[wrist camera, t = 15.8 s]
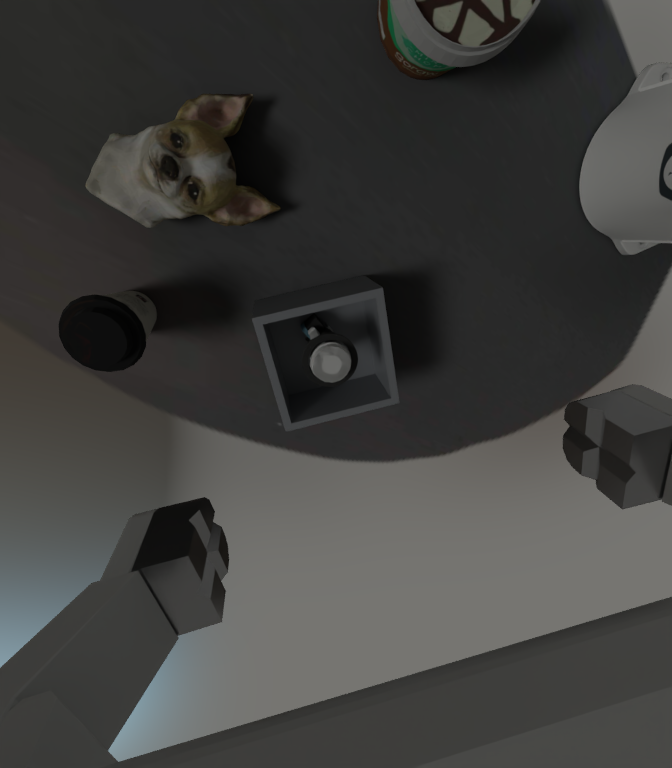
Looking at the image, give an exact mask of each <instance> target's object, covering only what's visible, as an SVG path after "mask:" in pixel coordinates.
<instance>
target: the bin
mask: <svg viewBox="0 0 672 768" xmlns="http://www.w3.org/2000/svg"><path fill="white" fill-rule="evenodd" d="M313 313H315V314H316V315H317V316H318V318H319V319H320V320H321V322H322V324H323V325H324V326H325V327H326V328H327V324H328V325H329V326H330V327H331V329H332V330H333V332H334V333H337V334H340V335H343V336H345V337H346V338H348V339H349V340H350V341H351V342H352V343H353V345H354V346H355V348H356V351H357V354H358V364H357V368H356V370H355V372H354V374H353V375H352V376H351V377H350V378H349V379H348V380H347V381H346V382H344V383H342V384H340V385H338V386H334V387H324V386H320V385H317V384H315V383H313V382H312V381H311V380H310V379H309V378H308V377H307V376H306V374H305V372H304V370H303V366H302V355H303V351H304V349H305V347H306V346H307V344H308V342H307V341H306V340H305V338H306V337H307V336H306V334H305V333H304V332H303V331H302V329H301V326H300V325H301V324H302V323H303V322H304V321H306V320H307V319H308V318H309V317H310V316H311V315H312V314H313ZM252 321H253V324H254V327H255V331H256V334H257V337H258V341H259V344H260V347H261V351H262V354H263V357H264V361H265V364H266V367H267V371H268V374H269V377H270V381H271V384H272V387H273V391H274V394H275V397H276V401H277V404H278V407H279V411H280V414H281V417H282V421H283V424H284V427H285V431H286V432H287V431H291V430H295V429H299V428H303V427H306V426H310V425H314V424H318V423H322V422H326V421H330V420H334V419H338V418H342V417H346V416H350V415H354V414H358V413H362V412H365V411H369V410H373V409H377V408H381V407H385V406H389V405H393V404H397V403H399V396H398V390H397V383H396V376H395V369H394V362H393V355H392V348H391V341H390V334H389V327H388V320H387V313H386V306H385V299H384V292H383V287H381V286H380V285H378V284H377V283H375V282H374V281H372V280H371V279H369V278H368V277H366V276H365V275H363V276H359V277H354V278H350V279H346V280H342V281H337V282H333V283H329V284H324V285H320V286H316V287H311V288H307V289H303V290H299V291H294V292H290V293H286V294H281V295H277V296H273V297H268V298H264V299H260V300H256V301H255V303H254V309H253V315H252ZM326 323H327V324H326ZM341 343H342V342H341ZM342 345H343V346H344V347H346V349H347V350H348V347H347V346H346V345H345V344H343V343H342ZM348 351H349V350H348ZM308 364H309V366H310V355H309V359H308Z"/></svg>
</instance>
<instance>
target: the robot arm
mask: <svg viewBox="0 0 672 768" xmlns="http://www.w3.org/2000/svg"><path fill="white" fill-rule="evenodd" d="M661 77H662V78H663V79H662V81H661ZM579 190H580V200H581V205H582V208H583V211H584V213H585V216H586V217H587V219H588V221H589V222H590V223H591V225H592V226H593V227H594V228H596V229H597V230H598V231H600V232H601V233H603V234H605V235H607V236H608V237H610V238H611V239H612V240H613V242H614V244H615V246H616V248H617V249H618V251H619V252H620V253H621V254H623V255H634V254H637V253H639V252H641V251H643V250H645V249H648V248H650V247H652V246H654V245H657V244H659V243H672V63H655V64H651V65H649V66H647V67H645V68H644V69H643V70H642V71H641V73H640V74H639V76H638V77H637V79H636V81H635V82H634V84H633V86H632V88H631V90H630V92H629V94H628V95H627V97H626V98H625V99H624V100H623V102H622V103H621V104H620V105H619V106H618V107H617V108H616V109H615V110H614V111H613V112H612V113H611V114H610V115H609V116H608V117H607V118H606V119H605V120H604V122H603V123H602V124H601V126H600V127H599V129H598V130H597V132H596V133H595V135H594V137H593V139H592V141H591V142H590V145H589V147H588V149H587V152H586V154H585V157H584V160H583V164H582V168H581V174H580V185H579ZM564 420H565V421H566V422H567V423H568V424H569V425H570V427H569V428H568V429H567V431H566V432H565V434H564V435H563V450H564V453H565V455H566V458H567V460H568V462H569V463H570V465H571V466H572V467H573V468H574V469H575V470H576V471H577V472H578V473H579V474H581V475H582V476H585V477H589V478H592V479H595V480H596V485H597V489H598V490H600V491H601V492H602V493H603V494H604V495H606V496H607V497H608V498H609V499H610V500H612V501H613V502H614V503H615V504H617V505H618V506H619V507H620V508H621V509H625V508H629V507H633V506H637V505H641V504H645V503H649V502H653V501H657V500H661V499H662V502H664V503H667V504H669V505H672V399H671V398H668V397H666V396H664V395H662V394H660V393H657V392H655V391H653V390H651V389H649V388H646V387H644V386H642V385H633V384H632V385H629V386H625V387H622V388H619V389H615V390H612V391H610V392H607V393H603V394H600V395H596V396H592V397H588V398H585V399H582V400H577V401H574V402H570V403H568V405H567V407H566V409H565V415H564ZM214 513H215V511H214V509H213V507H212V505H211V503H210V500H209V499H207V498H205V497H204V498H200V499H195V500H191V501H188V502H183V503H179V504H174V505H171V506H166V507H162V508H159V509H154V510H151V511H146V512H143V513H139V514H135V515H133V516H132V517H131V518H129V520H128V522H127V524H126V526H125V528H124V531H123V533H122V535H121V537H120V539H119V541H118V544H117V546H116V548H115V550H114V552H113V554H112V556H111V558H110V561H109V563H108V565H107V567H106V569H105V571H104V573H103V576H102V578H101V580H100V581H97V582H94V583H91V584H90V585H89V586H88V587H87V588H86V589H85V590H84V591H83V592H82V593H80V595H78V596H77V597H76V598H75V599H74V600H73V601H72V602H71V603H70V604H69V605H68V606H66V607H65V608H64V609H63V610H62V611H61V612H60V613H59V614H58V615H57V616H56V617H55V618H54V619H52V620H51V621H50V622H49V623H48V624H47V625H46V626H45V627H44V628H43V629H42V630H41V631H40V632H38V633H37V635H35V636H34V637H33V638H32V639H31V640H30V641H29V642H28V643H27V644H25V645H24V646H23V647H22V648H21V649H20V650H19V651H18V652H17V653H16V654H15V655H14V656H13V657H11V658H10V659H9V660H8V661H7V662H6V663H5V664H4V665H3V666H2V667H1V668H0V768H672V597H670V598H666V599H663V600H659V601H656V602H653V603H649V604H646V605H643V606H639V607H636V608H633V609H629V610H626V611H623V612H619V613H616V614H613V615H609V616H606V617H602V618H599V619H596V620H593V621H589V622H586V623H583V624H579V625H576V626H572V627H569V628H566V629H562V630H559V631H556V632H553V633H549V634H546V635H543V636H539V637H536V638H532V639H529V640H526V641H522V642H519V643H516V644H512V645H509V646H506V647H503V648H499V649H496V650H492V651H489V652H486V653H482V654H479V655H476V656H472V657H469V658H466V659H462V660H459V661H456V662H452V663H449V664H446V665H442V666H439V667H436V668H432V669H429V670H425V671H422V672H418V673H415V674H412V675H409V676H405V677H402V678H398V679H395V680H392V681H388V682H385V683H382V684H379V685H375V686H372V687H368V688H365V689H362V690H358V691H355V692H351V693H348V694H345V695H341V696H338V697H335V698H331V699H328V700H325V701H321V702H318V703H314V704H311V705H308V706H304V707H301V708H298V709H294V710H291V711H287V712H284V713H281V714H278V715H274V716H271V717H267V718H264V719H261V720H258V721H254V722H251V723H247V724H244V725H241V726H237V727H234V728H231V729H227V730H224V731H221V732H217V733H214V734H210V735H207V736H204V737H201V738H197V739H194V740H191V741H187V742H184V743H180V744H177V745H174V746H171V747H167V748H164V749H161V750H157V751H154V752H150V753H147V754H144V755H141V756H137V757H134V758H130V759H127V760H124V761H121V762H118V761H117V760H116V759H115V758H114V757H113V756H112V755H111V754H110V753H109V752H108V749H109V748H110V746H111V745H112V743H113V742H114V740H115V738H116V737H117V735H118V734H119V732H120V730H121V729H122V727H123V725H124V724H125V722H126V721H127V719H128V718H129V716H130V715H131V713H132V711H133V710H134V708H135V707H136V705H137V703H138V702H139V700H140V699H141V697H142V695H143V694H144V692H145V691H146V689H147V687H148V686H149V684H150V683H151V681H152V680H153V678H154V676H155V675H156V673H157V671H158V670H159V668H160V667H161V665H162V664H163V662H164V661H165V659H166V657H167V656H168V654H169V652H170V651H171V649H172V648H173V646H174V645H175V643H176V641H177V640H178V635H182V634H185V633H188V632H191V631H194V630H197V629H201V628H204V627H207V626H210V625H214V624H217V623H220V622H222V616H223V608H224V599H225V592H226V591H225V588H224V586H223V584H222V582H221V580H222V579H223V578H224V576H225V575H226V574H227V572H228V565H229V554H228V544H227V541H226V537H225V534H224V532H223V529H222V527H221V526H219V525H217V524H216V523H214V522H213V519H214Z"/></svg>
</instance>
